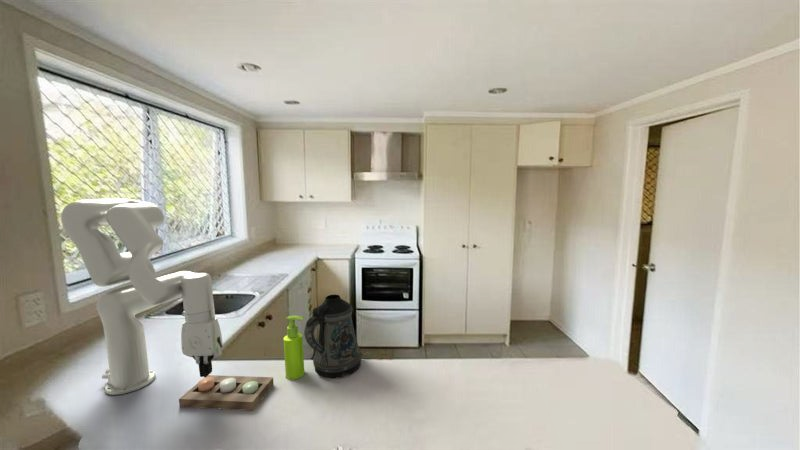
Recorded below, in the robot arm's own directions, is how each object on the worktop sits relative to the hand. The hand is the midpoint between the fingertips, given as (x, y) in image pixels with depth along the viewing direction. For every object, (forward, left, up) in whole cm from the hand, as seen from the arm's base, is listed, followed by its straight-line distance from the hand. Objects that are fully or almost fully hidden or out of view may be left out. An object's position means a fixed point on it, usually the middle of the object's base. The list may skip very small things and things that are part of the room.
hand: (206, 374), depth 98 cm
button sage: (+14, 0, -6) cm, 15 cm away
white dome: (+7, 0, -5) cm, 8 cm away
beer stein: (+35, +17, -7) cm, 39 cm away
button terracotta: (0, 0, -5) cm, 5 cm away
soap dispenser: (+23, +12, -7) cm, 26 cm away
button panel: (+7, 0, -7) cm, 9 cm away
